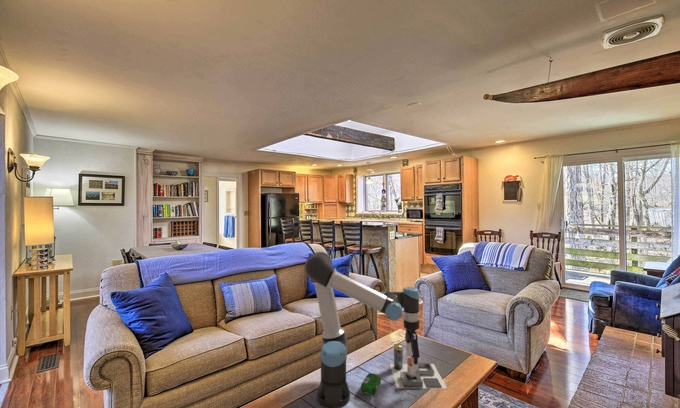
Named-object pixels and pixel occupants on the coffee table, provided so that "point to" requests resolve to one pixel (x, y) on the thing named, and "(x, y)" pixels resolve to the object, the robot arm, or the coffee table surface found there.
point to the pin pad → (432, 383)
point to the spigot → (398, 356)
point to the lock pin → (410, 370)
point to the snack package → (370, 384)
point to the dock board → (397, 372)
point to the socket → (425, 372)
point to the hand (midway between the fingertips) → (412, 362)
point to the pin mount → (411, 381)
